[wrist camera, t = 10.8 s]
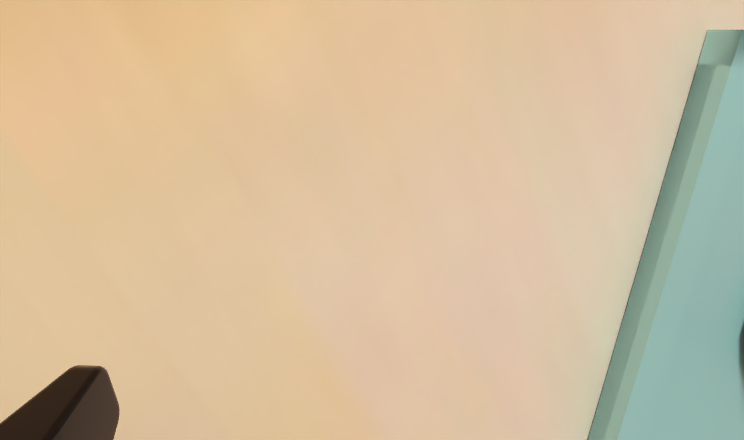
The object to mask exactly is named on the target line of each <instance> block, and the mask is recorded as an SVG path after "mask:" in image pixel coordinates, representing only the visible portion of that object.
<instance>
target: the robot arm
mask: <svg viewBox="0 0 744 440" xmlns="http://www.w3.org/2000/svg"><path fill="white" fill-rule="evenodd" d="M118 420H119V404H118V401H117V398H116V395H115V392H114V389H113V386H112V384H111V381H110V378H109V375H108V373H107V370H106V369H104V368H103V367H101V366H84V365H78V366H74V367H72V368H70V369H68V370H67V371H66V372H65V373H63V374H62V375H61V376H59V377H58V378H57V379H56V380H54V381H53V382H52V383H51V384H49V385H48V386H47V387H46V388H44V389H43V390H42V391H41V392H39V393H38V394H37V395H35V396H34V397H33V398H32V399H30V400H29V401H28V402H27V403H25V404H24V405H23V406H22V407H20V408H19V409H18V410H17V411H15V412H14V413H13V414H11V415H10V416H9V417H8V418H6V419H5V420H4V421H3V422H1V423H0V440H113V439H114V435H115V431H116V428H117V424H118Z"/></svg>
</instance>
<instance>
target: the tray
mask: <svg viewBox="0 0 744 440" xmlns="http://www.w3.org/2000/svg"><path fill="white" fill-rule="evenodd" d="M588 440H744V30H708V31H707V35H706V38H705V41H704V45H703V48H702V52H701V55H700V58H699V62H698V65H697V69H696V72H695V75H694V79H693V82H692V86H691V89H690V92H689V96H688V99H687V103H686V106H685V110H684V113H683V116H682V120H681V123H680V127H679V130H678V133H677V137H676V140H675V144H674V147H673V150H672V154H671V157H670V161H669V164H668V167H667V171H666V174H665V178H664V181H663V184H662V188H661V191H660V195H659V198H658V201H657V205H656V208H655V212H654V215H653V219H652V222H651V225H650V229H649V232H648V236H647V239H646V242H645V246H644V249H643V253H642V256H641V259H640V263H639V266H638V270H637V273H636V276H635V280H634V283H633V287H632V290H631V293H630V297H629V300H628V304H627V307H626V310H625V314H624V317H623V321H622V324H621V328H620V331H619V334H618V338H617V341H616V345H615V348H614V351H613V355H612V358H611V362H610V365H609V368H608V372H607V375H606V379H605V382H604V385H603V389H602V392H601V396H600V399H599V402H598V406H597V409H596V413H595V416H594V419H593V423H592V426H591V430H590V433H589V437H588Z"/></svg>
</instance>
